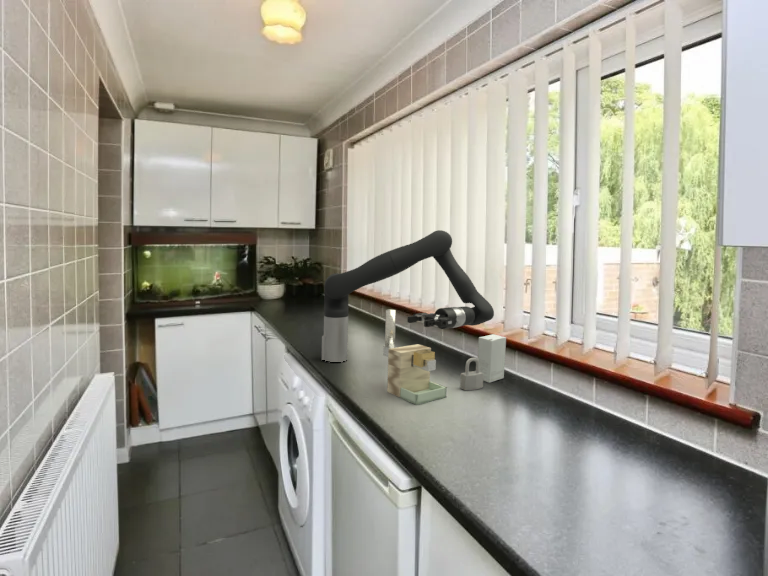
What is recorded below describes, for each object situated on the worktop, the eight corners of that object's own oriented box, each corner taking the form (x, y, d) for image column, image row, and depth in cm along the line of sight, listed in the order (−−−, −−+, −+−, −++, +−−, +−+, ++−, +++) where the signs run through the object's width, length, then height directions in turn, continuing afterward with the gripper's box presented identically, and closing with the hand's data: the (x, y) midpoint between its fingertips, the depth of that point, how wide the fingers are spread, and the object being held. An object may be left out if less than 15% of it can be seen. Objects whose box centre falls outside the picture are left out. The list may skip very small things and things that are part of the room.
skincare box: (490, 374, 160) (492, 333, 158) (504, 379, 155) (507, 336, 154) (475, 378, 154) (477, 336, 153) (489, 383, 150) (492, 339, 148)
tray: (400, 397, 133) (400, 387, 133) (429, 390, 141) (430, 381, 140) (416, 405, 128) (416, 394, 127) (446, 397, 135) (446, 387, 135)
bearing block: (387, 391, 138) (388, 348, 137) (416, 384, 146) (418, 344, 144) (399, 397, 134) (401, 352, 132) (429, 390, 141) (430, 347, 140)
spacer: (413, 364, 133) (413, 351, 133) (426, 361, 136) (426, 349, 136) (421, 367, 131) (421, 354, 130) (434, 364, 134) (434, 352, 133)
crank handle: (382, 355, 147) (383, 309, 145) (390, 353, 149) (391, 309, 147) (427, 371, 130) (429, 320, 128) (435, 369, 132) (437, 319, 130)
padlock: (476, 384, 148) (477, 355, 147) (484, 388, 144) (485, 358, 143) (458, 387, 144) (460, 357, 143) (466, 391, 141) (468, 360, 140)
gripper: (436, 304, 167) (403, 308, 158) (465, 310, 156) (431, 313, 146) (435, 324, 168) (402, 329, 158) (464, 331, 157) (430, 336, 147)
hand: (416, 321), depth 152 cm, fingers open, 8 cm apart
